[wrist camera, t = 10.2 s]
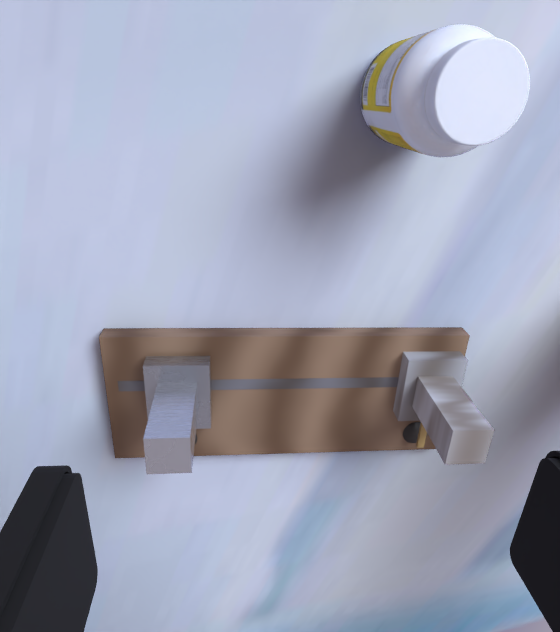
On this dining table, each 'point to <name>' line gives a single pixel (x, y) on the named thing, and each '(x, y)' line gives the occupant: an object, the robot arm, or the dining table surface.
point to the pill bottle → (445, 90)
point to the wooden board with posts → (308, 390)
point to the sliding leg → (175, 410)
